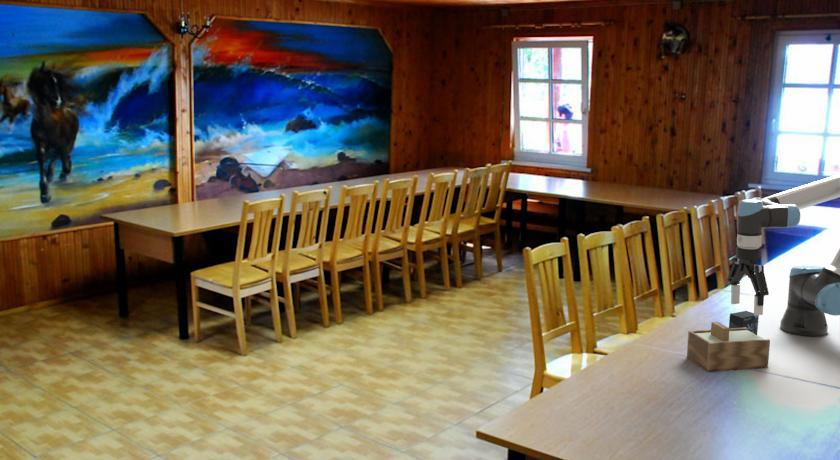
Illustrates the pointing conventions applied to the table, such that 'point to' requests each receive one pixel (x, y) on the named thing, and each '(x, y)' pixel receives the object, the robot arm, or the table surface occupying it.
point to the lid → (727, 334)
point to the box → (744, 321)
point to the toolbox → (727, 353)
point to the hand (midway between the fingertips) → (746, 309)
